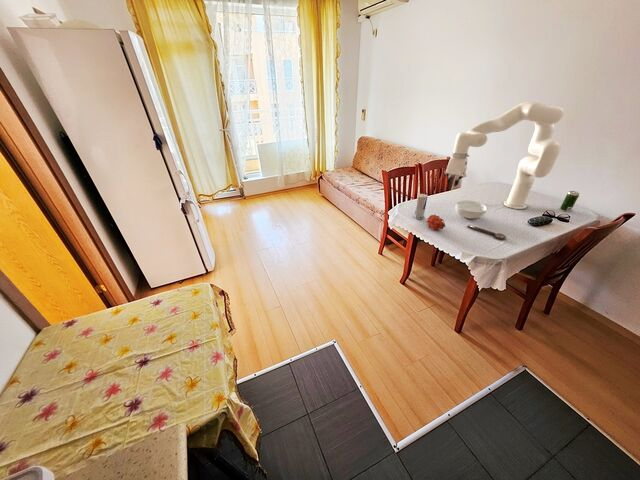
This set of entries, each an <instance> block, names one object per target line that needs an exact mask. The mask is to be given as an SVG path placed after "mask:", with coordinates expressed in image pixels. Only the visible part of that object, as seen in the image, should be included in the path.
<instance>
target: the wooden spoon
mask: <svg viewBox="0 0 640 480" xmlns="http://www.w3.org/2000/svg"><path fill="white" fill-rule="evenodd" d="M467 228H469V229H472V230H475V231H478V232H480V233H483V234H484V233H485V234H487V235H490V236H493V237H494V238H495V239H497V240H499V241H505V240H507V239H506V238H507V235H505V234H503V233H500V232H498V233H497V232H495V231H491V230H487V229H485V228H481V227H479V226H475V225H472V224H468V225H467Z"/></svg>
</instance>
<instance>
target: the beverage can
mask: <svg viewBox="0 0 640 480" xmlns="http://www.w3.org/2000/svg"><path fill="white" fill-rule="evenodd" d="M427 201H428V195H427V194H425V193H418V194H417V198H416V203H415V209H414V216H413V217H414V218H415V219H419V220H421V219H423V218H425V212H426V206H427Z"/></svg>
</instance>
